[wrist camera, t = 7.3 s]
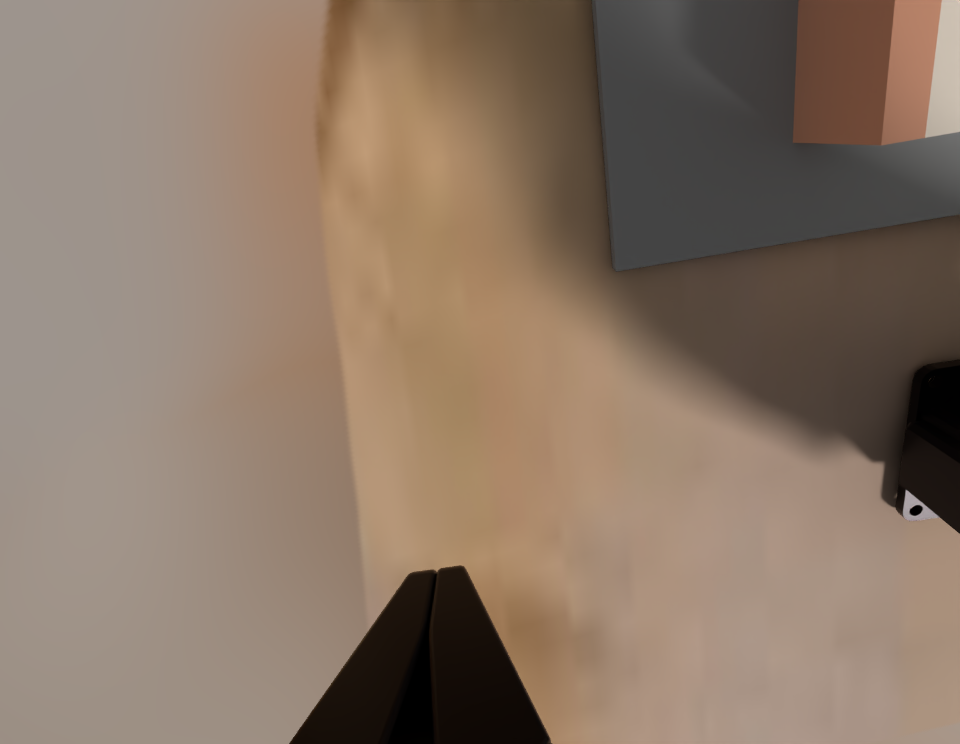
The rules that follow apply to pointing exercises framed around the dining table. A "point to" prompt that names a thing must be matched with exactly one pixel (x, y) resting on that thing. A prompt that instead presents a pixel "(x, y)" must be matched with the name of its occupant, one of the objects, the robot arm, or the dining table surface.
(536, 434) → the dining table surface
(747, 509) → the dining table surface
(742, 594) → the dining table surface
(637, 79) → the rubber mat
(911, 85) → the tall block
